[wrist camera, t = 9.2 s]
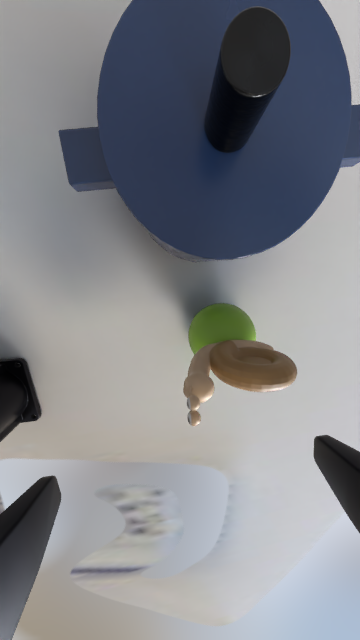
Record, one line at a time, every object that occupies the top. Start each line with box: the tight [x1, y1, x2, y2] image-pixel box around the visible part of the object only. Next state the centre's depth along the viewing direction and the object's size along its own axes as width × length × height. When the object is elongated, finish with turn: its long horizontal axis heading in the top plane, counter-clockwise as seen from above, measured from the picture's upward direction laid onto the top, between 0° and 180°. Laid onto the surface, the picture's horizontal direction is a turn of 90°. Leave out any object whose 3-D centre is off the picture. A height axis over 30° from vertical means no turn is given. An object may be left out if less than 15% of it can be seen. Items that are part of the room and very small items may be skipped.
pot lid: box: [97, 0, 351, 260], centre depth 8 cm, size 12×12×4 cm
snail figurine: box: [183, 303, 297, 426], centre depth 13 cm, size 5×6×12 cm
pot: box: [59, 105, 360, 262], centre depth 13 cm, size 11×16×7 cm, turn 96°
